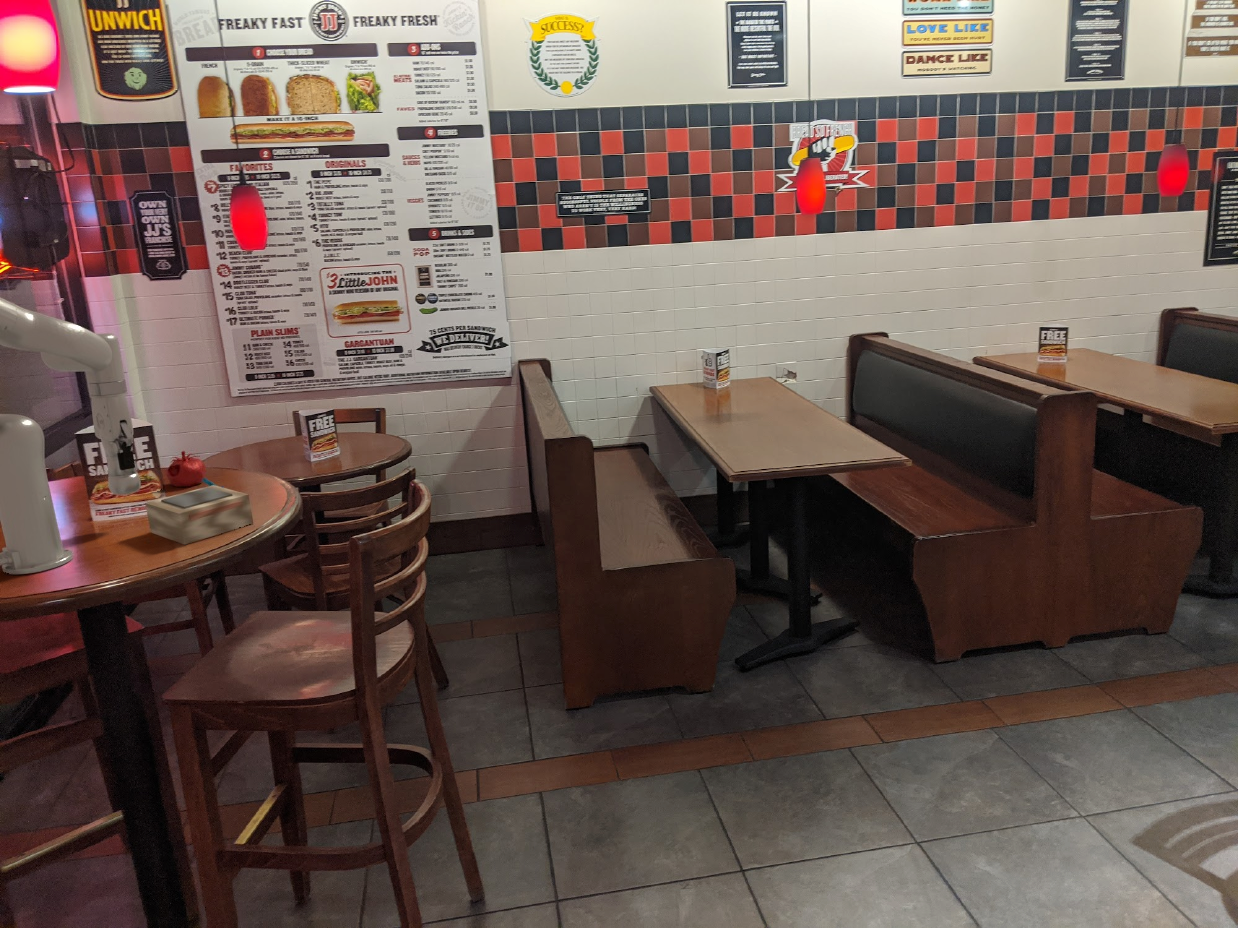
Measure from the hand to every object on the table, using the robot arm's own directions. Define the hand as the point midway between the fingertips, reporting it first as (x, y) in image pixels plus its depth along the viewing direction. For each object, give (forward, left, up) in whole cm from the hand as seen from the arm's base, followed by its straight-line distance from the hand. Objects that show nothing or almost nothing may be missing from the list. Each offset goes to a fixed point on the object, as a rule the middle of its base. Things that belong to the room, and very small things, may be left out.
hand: (121, 466), depth 211 cm
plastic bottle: (0, 0, -7) cm, 7 cm away
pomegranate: (+26, +25, -14) cm, 39 cm away
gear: (+20, -3, -14) cm, 25 cm away
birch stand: (+8, -18, -14) cm, 24 cm away
